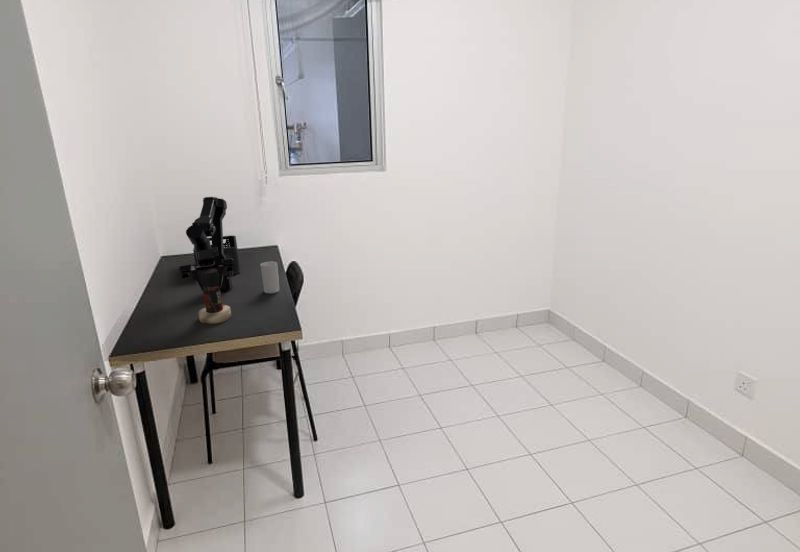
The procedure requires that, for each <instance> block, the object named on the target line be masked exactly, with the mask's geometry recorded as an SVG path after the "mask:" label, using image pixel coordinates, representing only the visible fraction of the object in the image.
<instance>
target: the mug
mask: <svg viewBox="0 0 800 552" xmlns="http://www.w3.org/2000/svg"><path fill="white" fill-rule="evenodd" d="M260 272H261V278H262V284H263V291H264V293H265V294H275V293H278V292H280V280H279V268H278V262H276V261H265V262H262V263H260Z"/></svg>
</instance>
